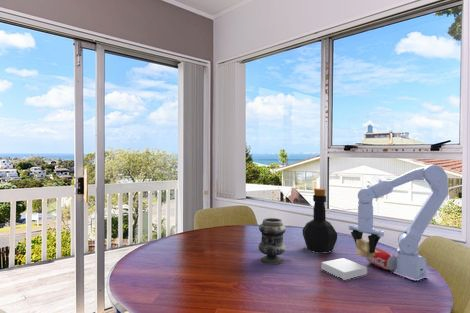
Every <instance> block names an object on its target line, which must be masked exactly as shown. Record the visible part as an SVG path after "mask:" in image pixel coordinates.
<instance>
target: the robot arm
mask: <svg viewBox="0 0 470 313" xmlns="http://www.w3.org/2000/svg"><path fill="white" fill-rule="evenodd" d="M414 180H415V181H426V182H427V183H428V186H429V189H430V190H431V192H430V193H429V195H428V196H427V198H426V199H425V201H424V203H423V204H422V206H421V208H420V209H419V211H418V212H417V214H416V215H415V217H414V218H413V220H412V222H410V225H409V226H408V227H407V228H405V230H404V231H403V232H402V233H400V234H399V235H398V237H397V242H398V248H397V249H396V257H397V269H396V271H397V272H398V273H399V274H401V275H404V276H408V277H411V278H414V279H420V278H423V277H426V276H427V260H426V258H425V257H424V256H422V255H420V254H419V251H418V250H419V243H420V241H421V240H422V236H423V234H424V232H425V230H426V229H427V227H428V226H429V224H430V223H431V221H432V220H433V218H434V216H435V215H436V214H437V212H438V211H439V209H440V207H441V206H442V205H443V203H444V202H445V200H446V198H447V197H448V195H449V183H448V175H447V173H446V171H445V169H444V168H443V167H442V166H440V165H438V164H437V165H436V164H427V165H425V166H421V167H418V168H414V169H412V170H410V171H408V172H405V173H403V174H401V175H399V176H397V177H394V178H393V179H390V180H388V179H384V178H383V179H381V178H380V179H379V180H378V179H377V182H375V183H373V184H370V185H369V184H367V185H366V187H363V188H360V190H359V191H358V192H357V198H358V205H357V225H355V224H348V230H349V231H351V232H350V235H351V236H352V239H353V241H354V243H355V245H356V239H363V234H368V235H367V239H369V244H370V253H374V252H375V248H377V245H378V242H379V240H380V239H381V238H383V237H385V231H383V230H379V229H377V228H374V206H373V200H374V199H376V200H377V199H379V198H381V197H384V196H386V195H389V194H391V193H392V192H393V190H394V189H395V188H397V187H400V186H402V185H405V184H406V183H409V182H413V181H414Z"/></svg>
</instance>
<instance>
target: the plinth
mask: <svg viewBox="0 0 470 313" xmlns="http://www.w3.org/2000/svg"><path fill="white" fill-rule="evenodd" d="M322 269H323V270H325V271H327V272H326V273H328V272H329V273H328V274H330V273H331V274H330V275H332V274H333V275H332V276H334V275H335V276H334V277H336V276H337V277H336V278H338V277H340V278H342V279H343V280H342V279H341V280H342V281H344V280H345V281H347V280H346V279H349V280H351V279H350V278H353V277H357V276H360V275H364V274H367V275H368V267H367V266H365V265H362V264H359V263H357V262H354V261H353V260H349V259H348V258H344V257H342V258H337V259H331V260H327V261H321V270H322ZM323 270H322V271H323ZM325 271H324V272H325ZM340 278H339V279H340ZM357 278H358V277H357ZM353 279H354V278H353Z"/></svg>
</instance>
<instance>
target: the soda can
mask: <svg viewBox="0 0 470 313" xmlns="http://www.w3.org/2000/svg"><path fill="white" fill-rule="evenodd" d="M365 259H366V261H367V262H368V263H370V264H371V263H372V264H371V265H373V264H374V266H376V267H378V268H380V267H381V269H382V268H383V269H382V270H385V269H386V270H385V271H388V270H390V271H391V272H393V271H392V270H394V271H397V256H396V255H395V254H393V253H391V252H390V251H386V250H384V249H380V248H378V247H376V248H375V256H372V257H367V258H366V257H365Z"/></svg>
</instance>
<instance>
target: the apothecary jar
mask: <svg viewBox="0 0 470 313" xmlns="http://www.w3.org/2000/svg"><path fill="white" fill-rule="evenodd" d="M258 230H259V231H260V233H261V240H260V242H259V243H258V246H257V247H258V251H259V252H261V253H262V254H264V256H262V257H261V258H260V261H261V262H262V263H265V264H269V265H270V264H271V265H279V264H282V263H283V261H284V259H283V258H282V257H280V255H283V254H284V253H285V252H286V250H287V247H286V245H285V244H284V234H285V233H286V231H287V227H286V226H285V225H284V222H283V220H282V219H281V218H276V217H266V218H263V219H262V223H260V225H259V226H258Z"/></svg>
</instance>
